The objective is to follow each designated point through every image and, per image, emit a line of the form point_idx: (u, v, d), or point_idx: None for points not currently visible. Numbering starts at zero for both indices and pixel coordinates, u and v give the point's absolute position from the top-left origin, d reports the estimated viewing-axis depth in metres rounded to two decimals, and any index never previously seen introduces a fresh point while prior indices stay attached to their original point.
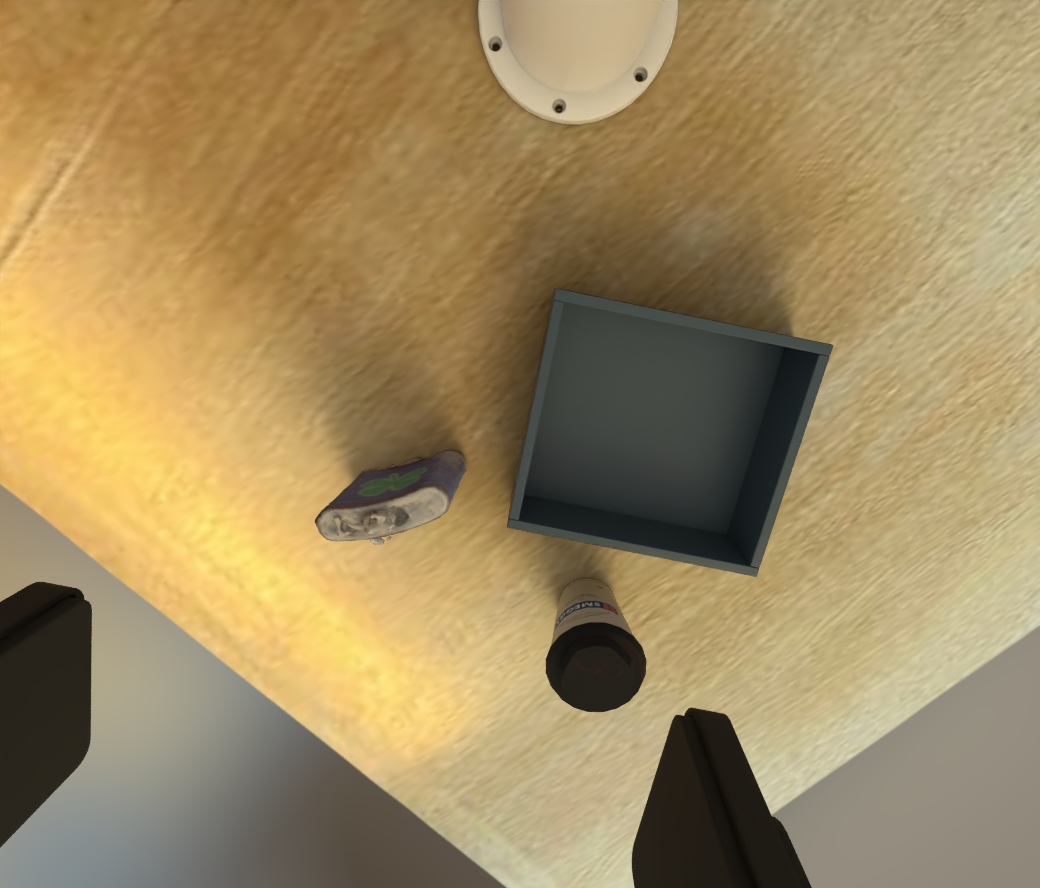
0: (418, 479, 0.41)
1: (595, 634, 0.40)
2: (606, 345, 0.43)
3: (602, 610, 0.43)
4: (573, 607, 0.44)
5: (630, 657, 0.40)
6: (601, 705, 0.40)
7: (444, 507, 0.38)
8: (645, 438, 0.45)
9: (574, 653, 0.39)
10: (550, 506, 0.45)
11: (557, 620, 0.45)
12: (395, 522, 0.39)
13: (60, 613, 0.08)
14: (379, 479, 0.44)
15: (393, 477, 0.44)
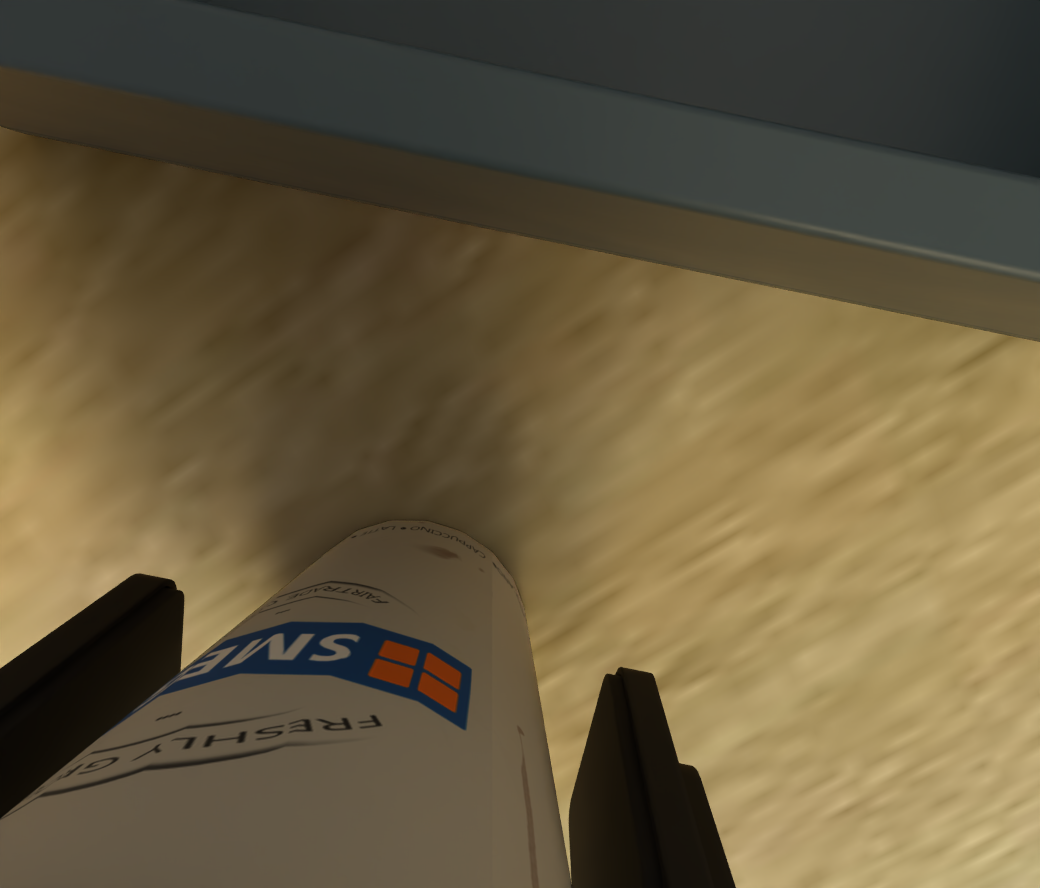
0: None
1: None
2: None
3: (334, 701, 0.06)
4: (190, 668, 0.07)
5: None
6: None
7: None
8: None
9: None
10: None
11: None
12: None
13: (162, 602, 0.09)
14: None
15: None
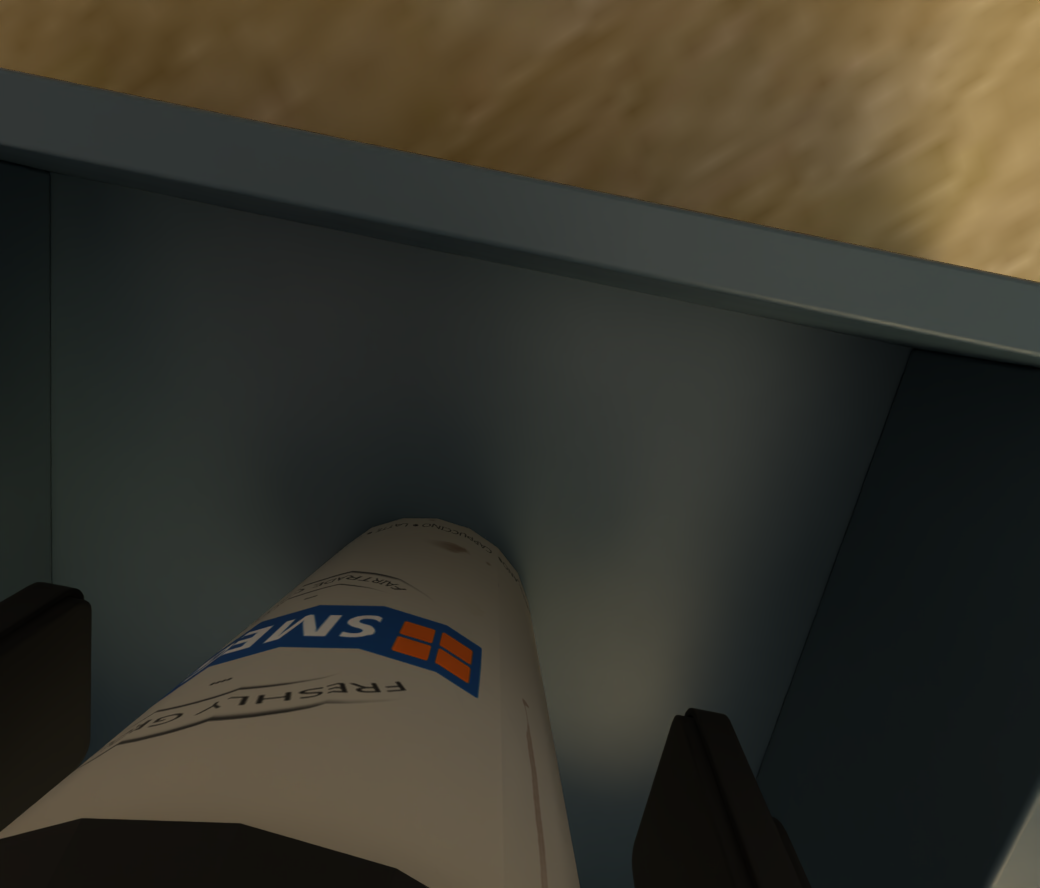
0: None
1: None
2: (246, 347, 0.12)
3: (363, 669, 0.07)
4: (233, 645, 0.08)
5: None
6: None
7: None
8: None
9: None
10: None
11: None
12: None
13: (60, 613, 0.08)
14: None
15: None
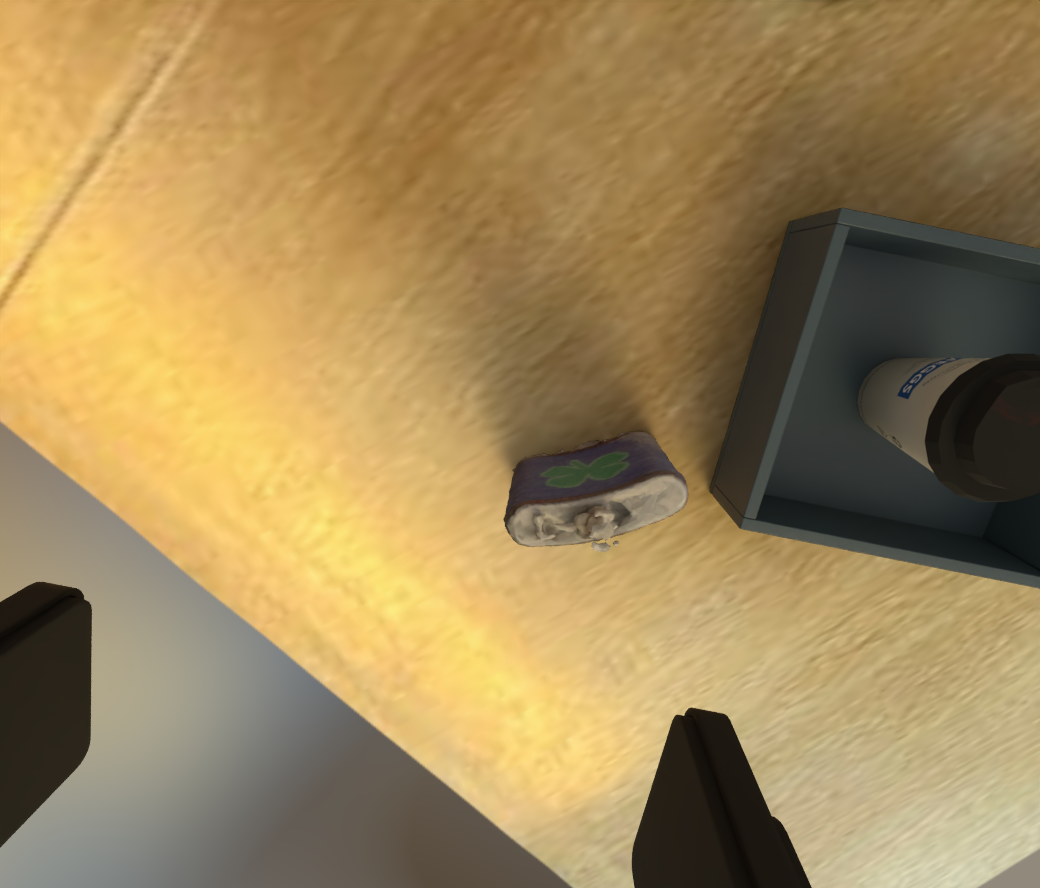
0: (629, 466, 0.31)
1: (1024, 368, 0.26)
2: (853, 295, 0.34)
3: None
4: (934, 364, 0.30)
5: None
6: (1028, 481, 0.26)
7: (682, 502, 0.29)
8: None
9: (1002, 392, 0.25)
10: (770, 501, 0.36)
11: (900, 390, 0.31)
12: None
13: (60, 613, 0.08)
14: (558, 467, 0.35)
15: (577, 464, 0.35)
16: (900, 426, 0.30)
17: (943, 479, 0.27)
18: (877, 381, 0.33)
